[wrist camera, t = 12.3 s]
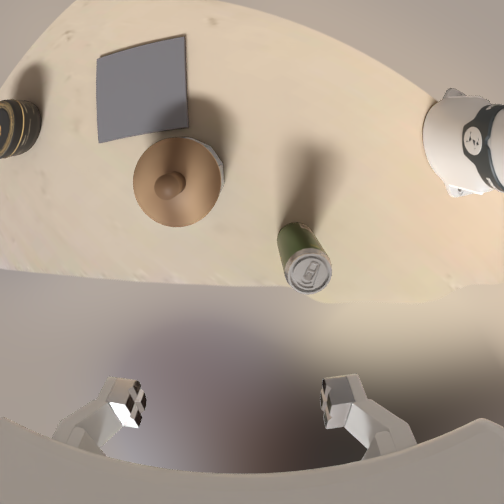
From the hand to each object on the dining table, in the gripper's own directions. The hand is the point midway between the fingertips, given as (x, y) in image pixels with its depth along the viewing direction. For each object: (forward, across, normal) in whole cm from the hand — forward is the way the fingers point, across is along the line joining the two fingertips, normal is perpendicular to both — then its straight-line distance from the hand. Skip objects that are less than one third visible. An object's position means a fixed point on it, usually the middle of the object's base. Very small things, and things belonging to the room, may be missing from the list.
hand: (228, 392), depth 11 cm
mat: (+31, +14, -20) cm, 40 cm away
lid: (+26, +8, -6) cm, 28 cm away
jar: (+32, +38, -20) cm, 53 cm away
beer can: (+31, -7, +4) cm, 32 cm away
